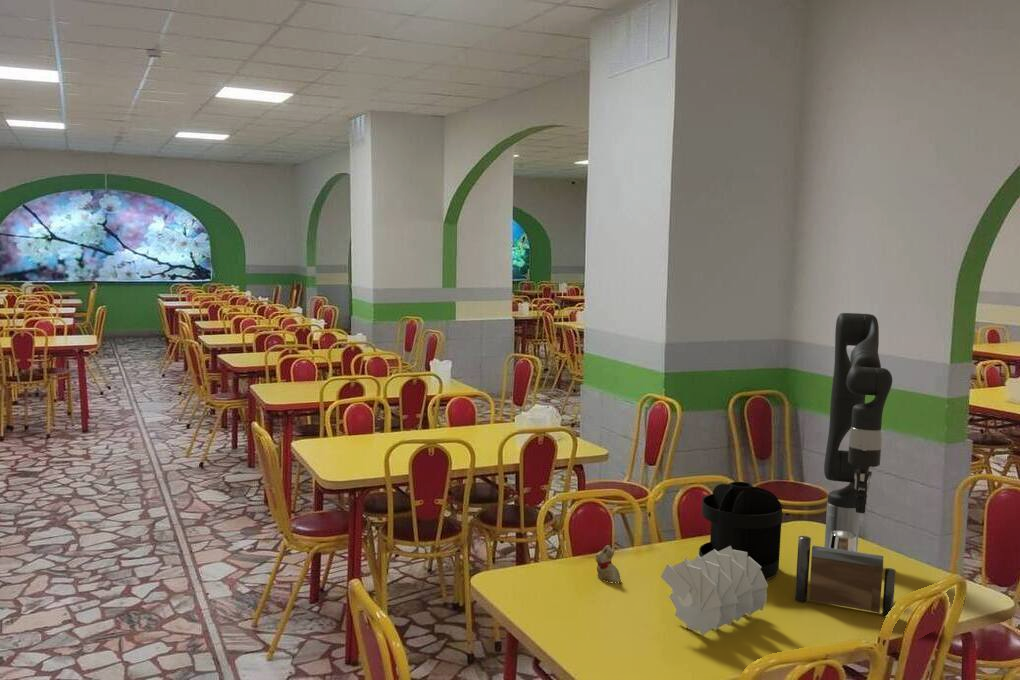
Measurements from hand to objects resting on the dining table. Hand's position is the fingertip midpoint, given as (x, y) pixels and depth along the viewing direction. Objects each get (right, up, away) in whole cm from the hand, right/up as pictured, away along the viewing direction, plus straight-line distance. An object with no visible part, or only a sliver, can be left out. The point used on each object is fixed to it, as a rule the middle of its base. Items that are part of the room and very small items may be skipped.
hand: (860, 508), depth 217 cm
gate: (-3, -25, +3) cm, 26 cm away
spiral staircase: (-39, -27, -7) cm, 48 cm away
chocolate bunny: (-62, -24, +19) cm, 69 cm away
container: (-24, -23, +30) cm, 45 cm away
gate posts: (-3, -26, +3) cm, 27 cm away
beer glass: (+1, -25, +18) cm, 31 cm away
